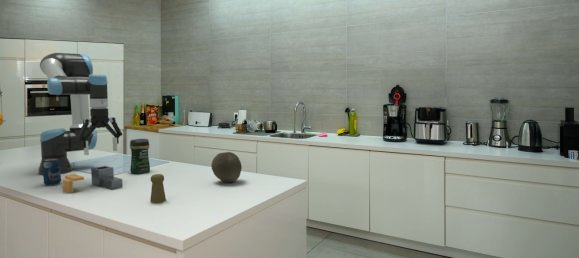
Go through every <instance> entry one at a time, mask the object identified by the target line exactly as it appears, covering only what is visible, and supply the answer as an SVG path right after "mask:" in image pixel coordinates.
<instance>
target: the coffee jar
mask: <svg viewBox="0 0 579 258" xmlns="http://www.w3.org/2000/svg"><path fill="white" fill-rule="evenodd" d="M129 148H130V153H131V155H130V158H131V159H130V160H131V161H130V173H131V174H133V175H134V174H135V175H139V174H141V175H142V174H146V173H149V172H150V171H151V165H150V158H149V149H150V141H149V138H134V139H130V142H129Z"/></svg>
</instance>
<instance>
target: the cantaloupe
mask: <svg viewBox="0 0 579 258" xmlns="http://www.w3.org/2000/svg"><path fill="white" fill-rule="evenodd" d="M210 165H211V171H212V173H213V174H214V176H215V177H216V178H217V179H218V180H220V181H221V182H224V183H233V182H235V181H238V179H239V178H240V176H241V172H242V167H243V166H242V163H241V160H240V158H239V156H238V155H236V154H235V153H234V152H231V151H226V152H219V153H217V154H216V155H215V156H214V157H213V159H212V161H211V164H210Z"/></svg>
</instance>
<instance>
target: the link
mask: <svg viewBox="0 0 579 258" xmlns="http://www.w3.org/2000/svg"><path fill="white" fill-rule="evenodd" d="M90 173H91V185H92V186H94V187H98V188H104V187H105V188H104V189H108V190H111V191H113V190H117V189H121V188H124V187H123V185H124V184H123V178H120V177H116V176H114V175H115V174H114V173H115V172H114V167H113V166H112V167H111V166H107V165H102V166H96V167H91V168H90Z"/></svg>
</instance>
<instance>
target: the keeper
mask: <svg viewBox="0 0 579 258" xmlns="http://www.w3.org/2000/svg"><path fill="white" fill-rule="evenodd" d="M83 180H85V177H84V176H83V175H80V174H79V175H78V174H76V173H73V174H67V175H64V179H61V182H62V192H64V193H67V194H70V193H74V185H73V184H74V182H77V181H78V182H79V181H83Z"/></svg>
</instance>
